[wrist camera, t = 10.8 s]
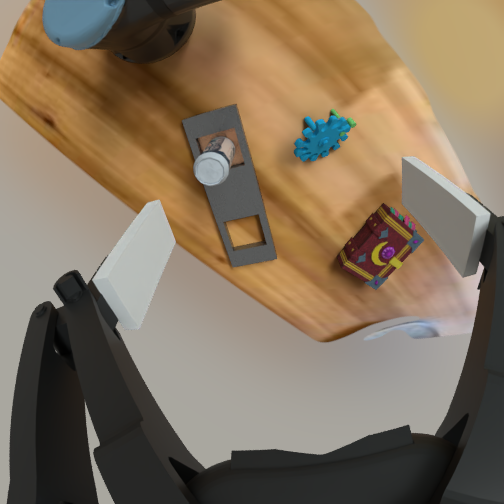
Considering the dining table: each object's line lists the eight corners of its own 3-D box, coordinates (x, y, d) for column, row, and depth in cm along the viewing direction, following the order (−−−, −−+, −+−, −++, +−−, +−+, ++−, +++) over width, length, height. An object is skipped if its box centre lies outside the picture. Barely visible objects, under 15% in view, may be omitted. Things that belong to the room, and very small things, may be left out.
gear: (302, 172, 46) (293, 142, 37) (285, 146, 48) (273, 114, 38) (357, 144, 44) (359, 110, 35) (338, 120, 46) (336, 84, 36)
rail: (184, 119, 43) (181, 120, 41) (236, 103, 41) (235, 104, 40) (233, 262, 59) (232, 267, 58) (276, 254, 57) (276, 258, 56)
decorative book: (334, 254, 58) (340, 269, 53) (385, 195, 50) (395, 207, 45) (370, 277, 61) (377, 291, 57) (418, 225, 53) (429, 237, 49)
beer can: (218, 130, 44) (205, 146, 34) (241, 147, 45) (235, 168, 35) (201, 152, 46) (184, 174, 36) (223, 168, 47) (213, 195, 38)
